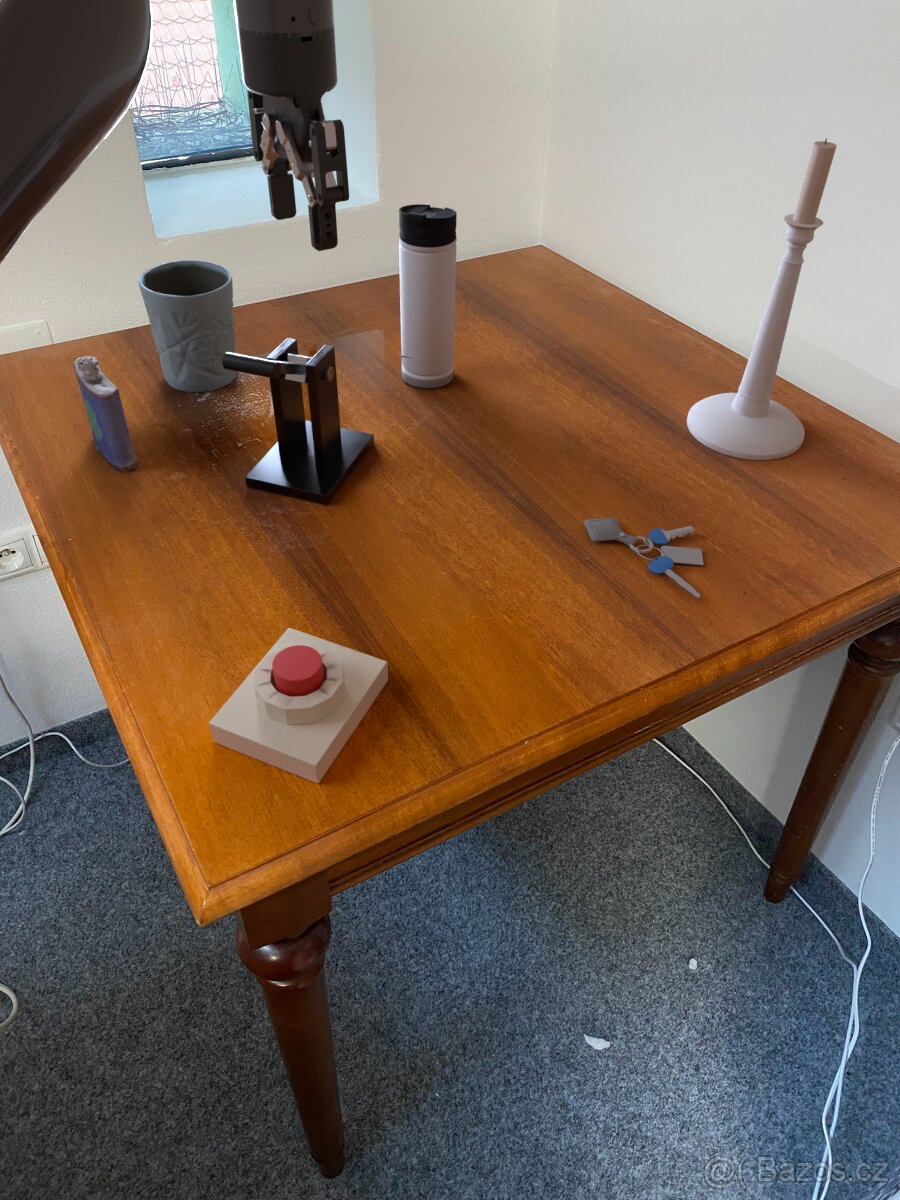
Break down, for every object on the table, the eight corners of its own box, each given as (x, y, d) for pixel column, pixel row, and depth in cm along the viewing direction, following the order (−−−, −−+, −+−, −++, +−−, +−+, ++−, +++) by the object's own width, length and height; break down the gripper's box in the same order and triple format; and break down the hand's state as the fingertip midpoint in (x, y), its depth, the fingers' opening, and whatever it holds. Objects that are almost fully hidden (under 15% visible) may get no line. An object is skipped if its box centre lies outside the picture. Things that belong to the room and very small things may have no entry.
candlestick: (827, 441, 97) (934, 148, 77) (742, 472, 92) (832, 168, 72) (745, 389, 105) (822, 112, 85) (663, 416, 100) (723, 129, 80)
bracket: (327, 505, 87) (316, 389, 78) (246, 487, 89) (227, 372, 80) (374, 443, 95) (369, 332, 86) (299, 428, 97) (286, 318, 88)
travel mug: (392, 384, 105) (386, 211, 91) (414, 360, 109) (412, 191, 96) (440, 395, 103) (442, 220, 89) (461, 370, 107) (466, 200, 94)
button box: (318, 784, 62) (313, 749, 60) (213, 742, 65) (203, 706, 62) (388, 680, 70) (387, 645, 67) (291, 645, 72) (286, 610, 70)
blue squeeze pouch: (141, 467, 91) (116, 373, 84) (113, 476, 90) (85, 381, 82) (114, 427, 96) (88, 336, 89) (87, 435, 95) (58, 343, 88)
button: (307, 703, 63) (305, 687, 62) (265, 687, 64) (262, 671, 63) (332, 670, 66) (331, 653, 64) (291, 655, 67) (288, 639, 65)
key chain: (571, 532, 84) (572, 525, 83) (622, 497, 88) (623, 490, 88) (696, 602, 77) (698, 595, 76) (745, 560, 81) (747, 553, 81)
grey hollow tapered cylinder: (157, 361, 108) (135, 264, 100) (240, 350, 110) (225, 254, 102) (164, 401, 101) (141, 300, 93) (252, 389, 103) (237, 289, 95)
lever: (272, 384, 74) (275, 355, 73) (220, 374, 75) (223, 345, 75) (330, 386, 85) (333, 361, 85) (284, 377, 87) (287, 352, 86)
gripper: (205, 7, 71) (234, 215, 82) (277, 39, 62) (299, 268, 73) (291, 1, 74) (308, 202, 85) (371, 31, 65) (378, 251, 76)
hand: (304, 232), depth 79 cm, fingers open, 8 cm apart
